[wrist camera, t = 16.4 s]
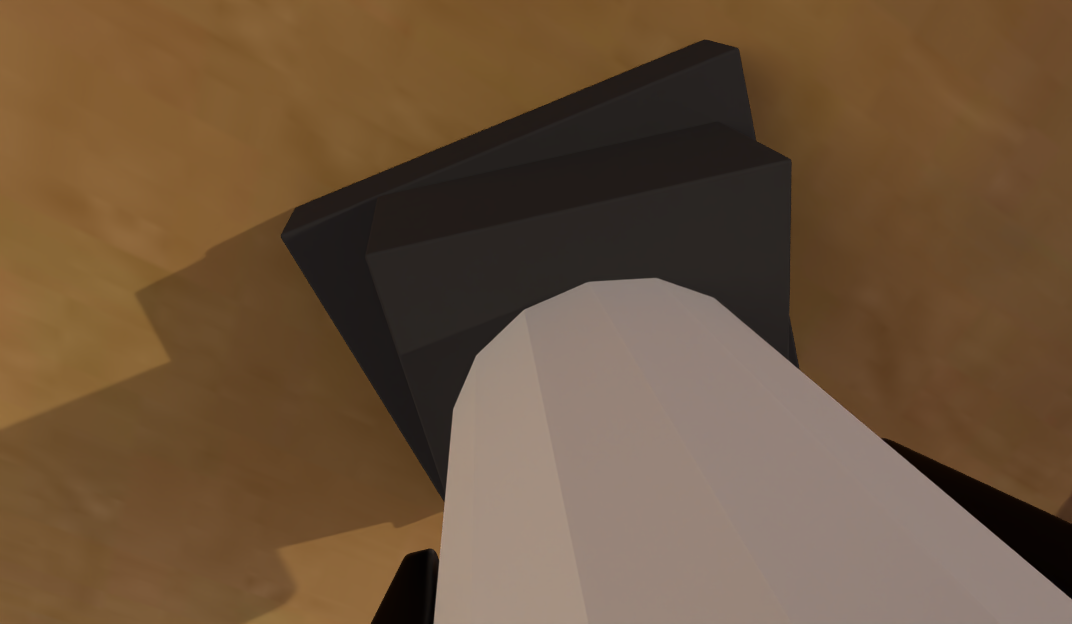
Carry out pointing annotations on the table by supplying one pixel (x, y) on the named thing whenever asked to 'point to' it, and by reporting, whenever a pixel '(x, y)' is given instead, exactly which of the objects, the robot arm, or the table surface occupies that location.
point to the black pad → (577, 247)
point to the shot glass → (694, 485)
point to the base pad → (549, 131)
